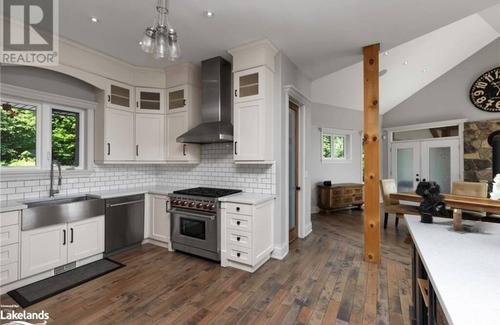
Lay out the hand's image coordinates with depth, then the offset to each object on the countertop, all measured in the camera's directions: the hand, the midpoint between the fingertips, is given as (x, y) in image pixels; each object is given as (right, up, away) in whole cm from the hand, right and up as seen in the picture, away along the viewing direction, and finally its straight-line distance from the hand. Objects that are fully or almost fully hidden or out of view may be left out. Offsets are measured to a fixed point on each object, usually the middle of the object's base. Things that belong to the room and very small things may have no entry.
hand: (444, 215), depth 155 cm
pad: (+2, -9, -7) cm, 12 cm away
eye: (+11, -9, -5) cm, 15 cm away
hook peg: (+2, -8, -7) cm, 11 cm away
